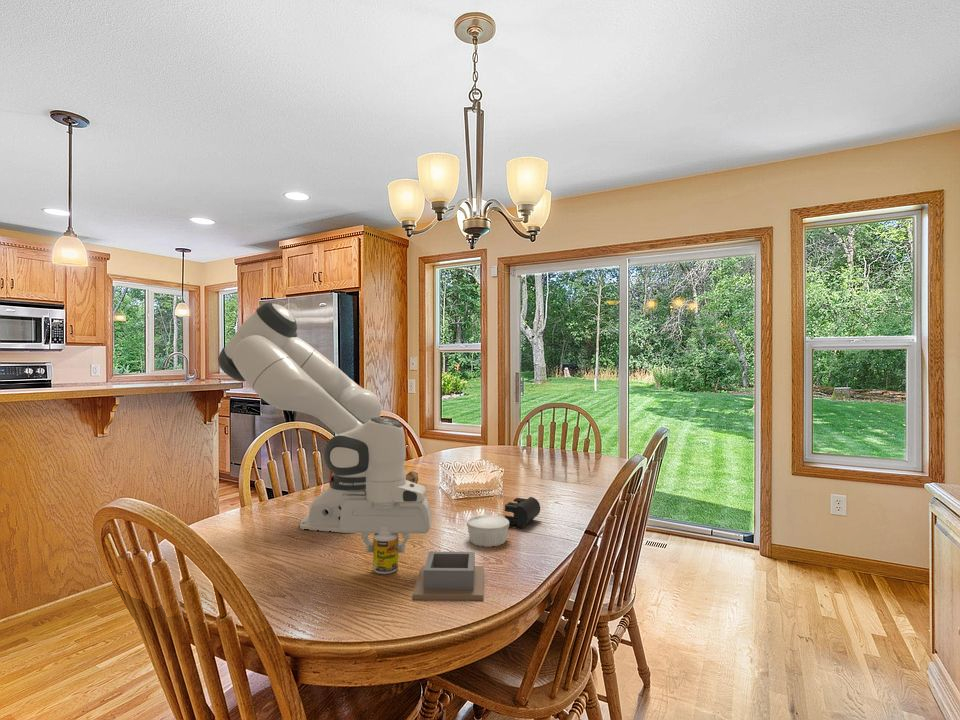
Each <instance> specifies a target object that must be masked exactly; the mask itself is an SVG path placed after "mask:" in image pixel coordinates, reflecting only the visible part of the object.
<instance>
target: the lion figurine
mask: <svg viewBox="0 0 960 720" xmlns="http://www.w3.org/2000/svg"><path fill="white" fill-rule="evenodd" d="M418 475H419V473H418V472H417V471H415V470H411V471H409V472H407V474H406V480H407V481H410V482H413V483H416V484H418V482H419V476H418Z"/></svg>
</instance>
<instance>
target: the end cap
mask: <svg viewBox="0 0 960 720" xmlns="http://www.w3.org/2000/svg"><path fill="white" fill-rule="evenodd" d="M504 512H507V513H513V516H511V515H504V518H506V519H508V520H509V526H510V527H509V528H512V527H516V528H515V529H518V528H519V529H521V528H523V527H524V526H526V525H527V524H529V523H530V522H531V521H533V520H534V519H535V518H536V517H538V516H539V515H540V512H541V504H540V502H539V501H538V500H537V498H535V497H534V496H530V497H528V498H523V497H516V498H514V499H513V502H507V503H506V504H505V505H504Z"/></svg>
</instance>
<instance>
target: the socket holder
mask: <svg viewBox="0 0 960 720" xmlns="http://www.w3.org/2000/svg"><path fill="white" fill-rule="evenodd" d="M475 556H476V555H475V551H429V552H428V555H427V558H426V561H425V564H424V565H421V566H420V569H419V573H418V575H417V579H416V581H415V585H414V587H413V588H414V589H413V591H412V595H411V596H412V600H414V601H417V600H418V601H423V600H424V601H425V600H427V601H429V600H431V601H484V584H485V583H484V580H485V579H484V577H485V576H484V575H485V573H484V572H485V571H484V570H485V567H484V566H483V565H482V566H480V565H479V566H478V565H477V566H476V565H475V561H476V560H475V558H476V557H475Z"/></svg>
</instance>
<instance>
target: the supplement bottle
mask: <svg viewBox="0 0 960 720" xmlns="http://www.w3.org/2000/svg"><path fill="white" fill-rule="evenodd" d="M372 539H373V540H372V541H373V552H372V564H373V565H372V570H373V572H375V573H376V574H380V575H389V574H393V573H395V572H396V571H397V570H398V568H399V553H398V552H397V550H398V548H397V545H398V543H399V533H389V531H388V528H387V527H382V528H381V531H380V533H373V538H372Z"/></svg>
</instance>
